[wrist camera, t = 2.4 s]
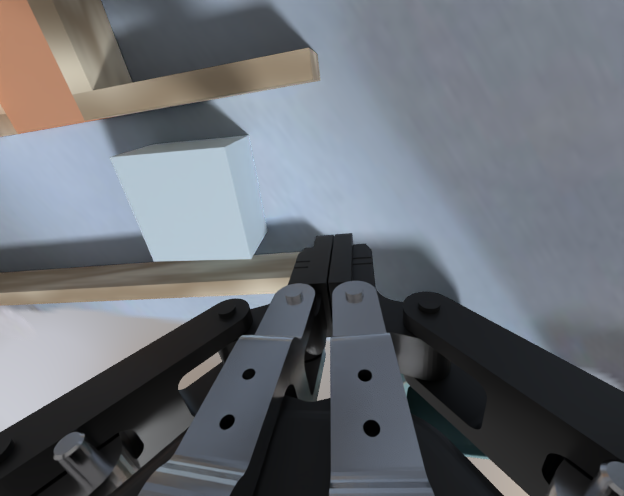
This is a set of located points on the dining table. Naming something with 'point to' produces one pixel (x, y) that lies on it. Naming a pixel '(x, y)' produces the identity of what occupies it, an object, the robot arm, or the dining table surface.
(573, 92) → the dining table surface
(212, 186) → the pale blue block
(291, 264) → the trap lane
